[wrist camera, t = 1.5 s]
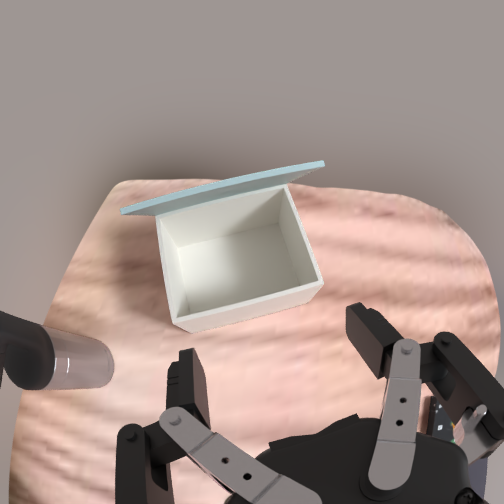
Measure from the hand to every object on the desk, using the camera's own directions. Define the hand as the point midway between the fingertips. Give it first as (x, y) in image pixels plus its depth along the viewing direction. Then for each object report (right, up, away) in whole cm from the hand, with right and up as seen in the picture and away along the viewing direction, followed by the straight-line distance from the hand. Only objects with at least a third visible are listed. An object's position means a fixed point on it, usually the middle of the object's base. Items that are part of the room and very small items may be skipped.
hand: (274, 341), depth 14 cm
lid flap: (-5, +11, +19) cm, 23 cm away
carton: (-3, +1, +35) cm, 35 cm away
